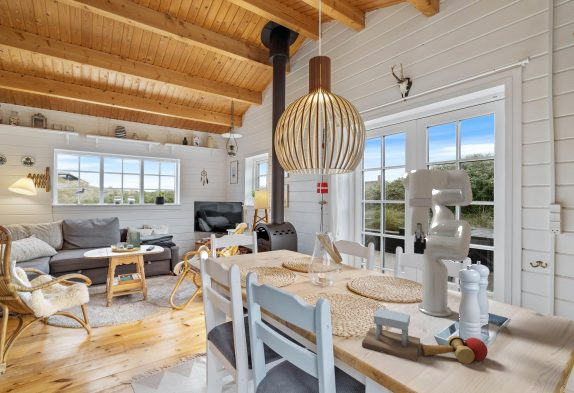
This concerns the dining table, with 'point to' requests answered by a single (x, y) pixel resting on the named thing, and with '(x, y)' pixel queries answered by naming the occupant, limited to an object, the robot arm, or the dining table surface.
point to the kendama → (459, 349)
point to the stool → (392, 323)
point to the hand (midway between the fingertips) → (420, 251)
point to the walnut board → (392, 344)
